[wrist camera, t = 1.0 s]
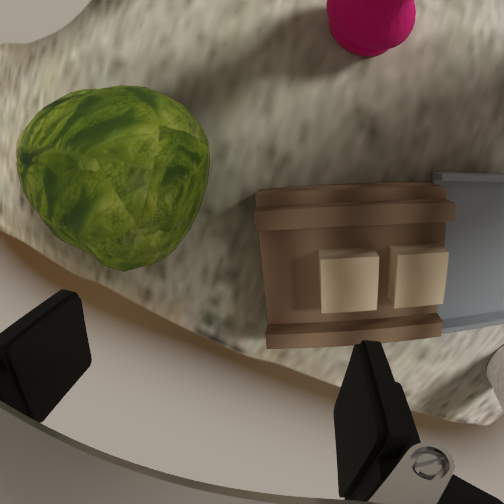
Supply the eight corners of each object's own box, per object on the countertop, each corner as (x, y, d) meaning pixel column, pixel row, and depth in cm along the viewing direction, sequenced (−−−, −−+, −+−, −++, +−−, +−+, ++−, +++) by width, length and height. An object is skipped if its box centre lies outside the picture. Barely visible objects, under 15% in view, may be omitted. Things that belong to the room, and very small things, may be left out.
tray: (541, 176, 23) (554, 179, 21) (524, 307, 28) (534, 317, 26) (431, 171, 26) (442, 173, 24) (422, 323, 31) (429, 335, 28)
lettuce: (80, 96, 33) (-3, 71, 20) (246, 123, 27) (167, 64, 14) (51, 202, 36) (-34, 204, 23) (199, 272, 30) (101, 308, 17)
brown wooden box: (429, 181, 26) (455, 190, 21) (421, 315, 30) (439, 345, 25) (260, 189, 29) (251, 198, 24) (273, 325, 33) (267, 357, 28)
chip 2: (437, 243, 24) (449, 252, 22) (433, 291, 25) (442, 303, 23) (389, 245, 25) (397, 255, 22) (387, 295, 26) (394, 308, 24)
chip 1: (372, 246, 25) (379, 256, 23) (371, 296, 26) (376, 310, 24) (318, 249, 26) (320, 259, 24) (320, 299, 27) (321, 313, 25)
